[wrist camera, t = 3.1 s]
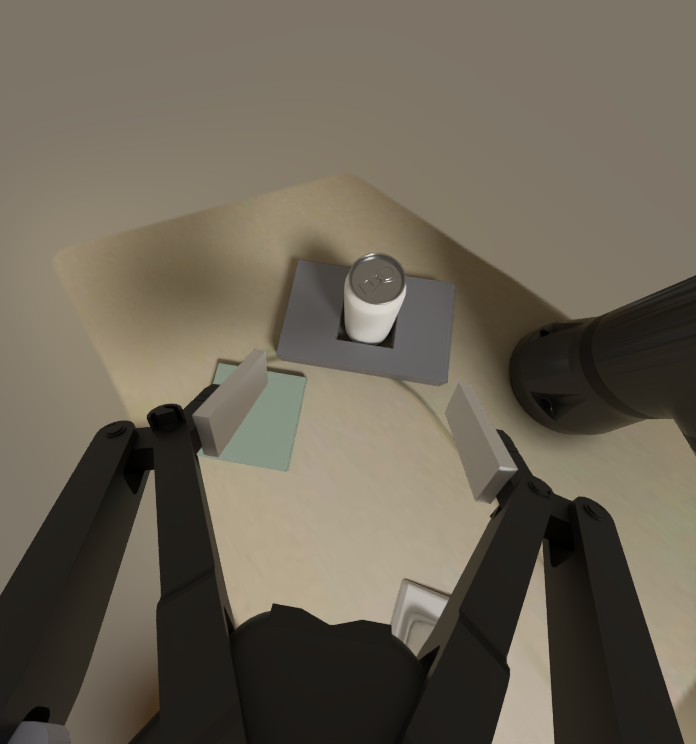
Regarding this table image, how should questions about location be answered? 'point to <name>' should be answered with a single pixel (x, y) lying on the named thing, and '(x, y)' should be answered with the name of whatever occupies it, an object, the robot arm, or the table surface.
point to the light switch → (416, 614)
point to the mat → (266, 423)
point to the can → (373, 297)
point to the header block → (402, 361)
